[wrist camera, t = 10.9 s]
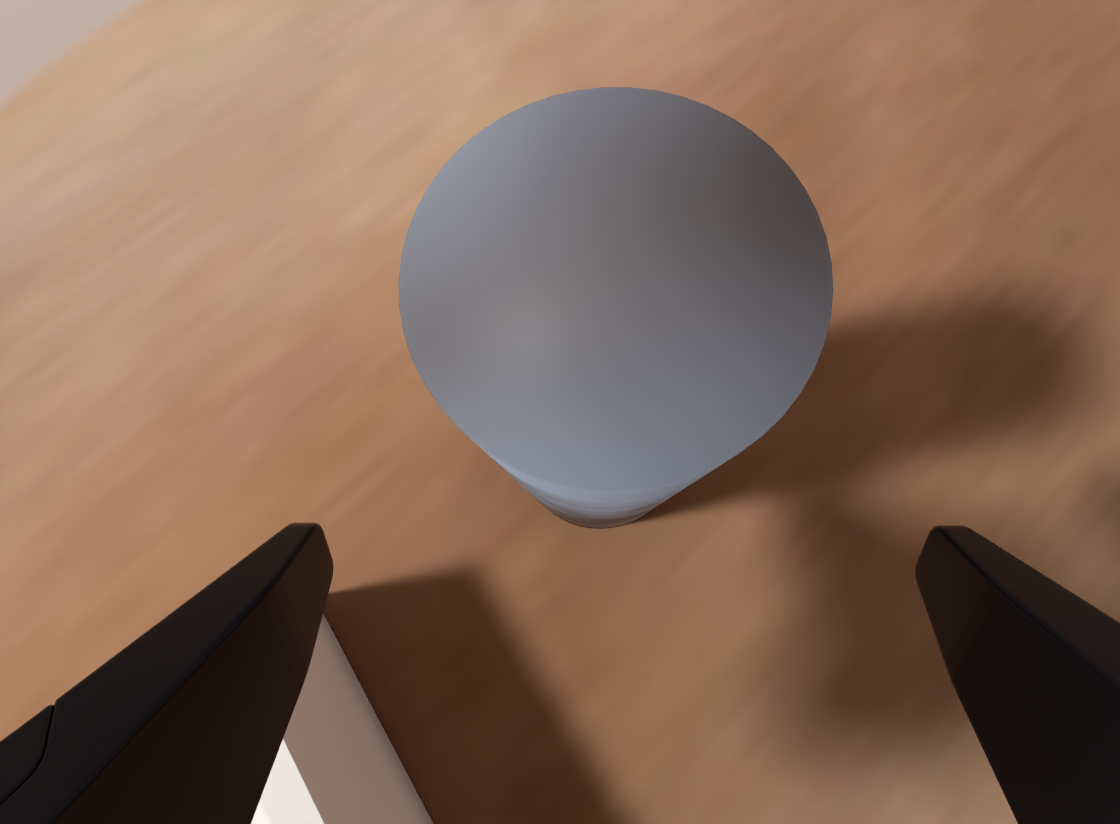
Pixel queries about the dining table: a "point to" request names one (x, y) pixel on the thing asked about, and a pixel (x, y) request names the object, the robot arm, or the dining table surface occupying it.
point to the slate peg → (615, 296)
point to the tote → (337, 755)
